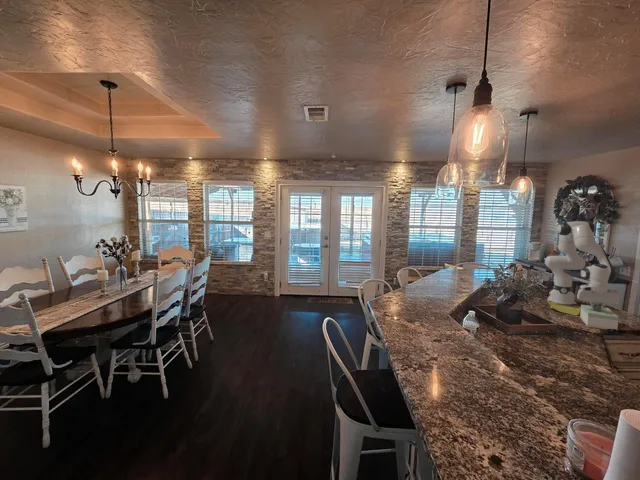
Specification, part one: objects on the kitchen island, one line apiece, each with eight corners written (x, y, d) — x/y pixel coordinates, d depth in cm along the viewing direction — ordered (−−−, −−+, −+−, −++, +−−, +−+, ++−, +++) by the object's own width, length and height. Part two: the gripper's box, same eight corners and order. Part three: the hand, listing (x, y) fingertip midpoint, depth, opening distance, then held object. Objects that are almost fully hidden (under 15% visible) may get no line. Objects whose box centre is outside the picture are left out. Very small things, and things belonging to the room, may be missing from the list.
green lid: (580, 307, 202) (581, 299, 202) (608, 310, 195) (608, 303, 194) (588, 315, 186) (588, 307, 185) (618, 320, 178) (619, 311, 178)
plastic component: (580, 309, 213) (580, 306, 207) (578, 318, 212) (578, 316, 205) (547, 301, 227) (546, 298, 220) (545, 310, 226) (544, 307, 219)
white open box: (580, 317, 203) (581, 305, 202) (607, 321, 196) (608, 308, 195) (587, 326, 186) (588, 313, 185) (617, 331, 179) (618, 317, 178)
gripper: (618, 289, 186) (616, 309, 188) (577, 285, 197) (575, 304, 199) (622, 291, 181) (620, 312, 182) (579, 287, 192) (577, 307, 193)
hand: (596, 308), depth 191 cm, fingers closed on green lid, 2 cm apart
